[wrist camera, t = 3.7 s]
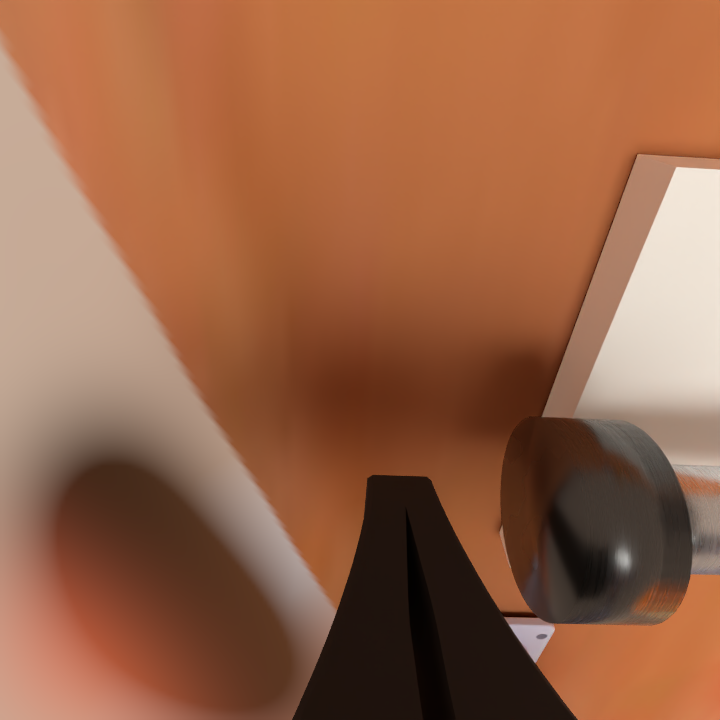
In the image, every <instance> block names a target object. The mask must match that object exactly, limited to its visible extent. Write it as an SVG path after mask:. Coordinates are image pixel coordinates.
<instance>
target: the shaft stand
mask: <svg viewBox="0 0 720 720" xmlns="http://www.w3.org/2000/svg"><path fill="white" fill-rule="evenodd" d="M542 417H557V418H583V419H609V420H622V421H627V422H629V423H631V424H634V425H636V426H637V427H639V428H640V429H642V430H643V431H644V432H646V433H647V434H648V435H649V436H650V437H651V438H652V439H653V440H654V441H655V442H656V444H657V445H658V446H659V447H660V448H661V450H662V451H663V453H664V454H665V456H666V457H667V459H668V461H669V462H670V464H677V465H706V466H720V159H711V158H694V157H678V156H661V155H645V154H638V155H637V157H636V160H635V163H634V166H633V168H632V171H631V174H630V177H629V179H628V182H627V185H626V188H625V190H624V193H623V196H622V198H621V201H620V204H619V207H618V209H617V212H616V215H615V218H614V220H613V223H612V226H611V229H610V231H609V234H608V237H607V239H606V242H605V245H604V248H603V250H602V253H601V256H600V259H599V261H598V264H597V267H596V270H595V272H594V275H593V278H592V281H591V283H590V286H589V289H588V291H587V294H586V297H585V300H584V302H583V305H582V308H581V311H580V313H579V316H578V319H577V322H576V324H575V327H574V330H573V332H572V335H571V338H570V341H569V343H568V346H567V349H566V352H565V354H564V357H563V360H562V363H561V365H560V368H559V371H558V374H557V376H556V379H555V382H554V384H553V387H552V390H551V393H550V395H549V398H548V401H547V404H546V406H545V409H544V412H543V415H542ZM499 534H500V537H501V541H502V544H503V547H504V551H505V554H506V557H507V560H508V564H509V567H510V568H511V566H510V563H509V559H508V555H507V550H506V546H505V540H504V535H503V527H501V529H500V532H499Z"/></svg>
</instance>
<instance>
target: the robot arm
mask: <svg viewBox="0 0 720 720" xmlns="http://www.w3.org/2000/svg"><path fill="white" fill-rule="evenodd" d="M554 631H555V627H554V624H553V623H548V622H545V621H543V620H541V619H540V618H526V617H503V615H502V613H501V612H500V610H499V609H498V607H497V605H496V604H495V602H494V601H493V599H492V597H491V596H490V594H489V593H488V591H487V589H486V588H485V586H484V584H483V583H482V581H481V579H480V577H479V576H478V574H477V572H476V570H475V569H474V567H473V565H472V563H471V561H470V560H469V558H468V556H467V554H466V553H465V551H464V549H463V547H462V545H461V543H460V541H459V540H458V538H457V536H456V534H455V532H454V530H453V528H452V526H451V524H450V522H449V520H448V518H447V516H446V514H445V511H444V509H443V507H442V505H441V503H440V501H439V498H438V496H437V494H436V491H435V489H434V486H433V484H432V481H431V480H430V479H429V478H428V477H420V476H387V475H372V476H371V477H369V478H367V489H366V500H365V512H364V520H363V525H362V530H361V534H360V538H359V542H358V545H357V549H356V553H355V557H354V561H353V564H352V568H351V571H350V574H349V577H348V580H347V583H346V586H345V589H344V592H343V595H342V598H341V601H340V604H339V607H338V610H337V613H336V616H335V618H334V621H333V624H332V626H331V629H330V632H329V634H328V637H327V640H326V642H325V645H324V647H323V650H322V652H321V654H320V657H319V659H318V662H317V664H316V667H315V669H314V671H313V674H312V676H311V678H310V681H309V683H308V686H307V688H306V690H305V692H304V695H303V697H302V699H301V701H300V704H299V706H298V708H297V710H296V713H295V715H294V717H293V719H292V720H577V718H576V717H575V716H574V715H573V713H572V712H571V711H570V710H569V708H568V707H567V706H566V704H565V703H564V702H563V700H562V699H561V698H560V696H559V695H558V694H557V692H556V691H555V690H554V688H553V687H552V686H551V684H550V683H549V682H548V680H547V679H546V678H545V676H544V675H543V674H542V672H541V671H540V669H539V668H538V667H537V665H536V664H535V663H536V661H537V660H538V658H539V656H540V655H541V653H542V651H543V649H544V648H545V646H546V644H547V643H548V641H549V639H550V638H551V636H552V634H553V632H554Z"/></svg>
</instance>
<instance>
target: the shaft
mask: <svg viewBox="0 0 720 720" xmlns="http://www.w3.org/2000/svg"><path fill="white" fill-rule="evenodd" d="M501 518H502V527H503V535H504V540H505V546H506V550H507V555H508V559H509V563H510V566H511V569H512V572H513V575H514V578H515V581H516V583H517V586H518V588H519V590H520V592H521V594H522V596H523V598H524V600H525V602H526V603H527V605H528V606H529V608H530V609H531V610H532V612H533V613H534V614H535V615H536V616H537V617H538V618H540V619H541V620H543V621H545V622H548V623H557V624H606V625H655V624H659V623H662V622H663V621H665V620H667V619H668V618H669V617H670V616H671V615H672V614H674V613H675V611H676V610H677V608H678V607H679V605H680V604H681V602H682V600H683V598H684V596H685V593H686V591H687V587H688V583H689V580H690V574H705V575H720V466H706V465H677V464H670V462H669V461H668V459H667V457H666V456H665V454H664V453H663V451H662V450H661V448H660V447H659V446H658V445H657V444H656V442H655V441H654V440H653V439H652V438H651V437H650V436H649V435H648V434H647V433H646V432H644V431H643V430H642V429H640V428H639V427H637V426H636V425H634V424H631V423H629V422H627V421H622V420H609V419H583V418H557V417H528V418H525V419H524V420H522V421H521V422H520V423H519V424H518V425H517V426H516V428H515V429H514V431H513V433H512V435H511V437H510V439H509V442H508V444H507V448H506V451H505V456H504V460H503V467H502V475H501Z"/></svg>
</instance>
